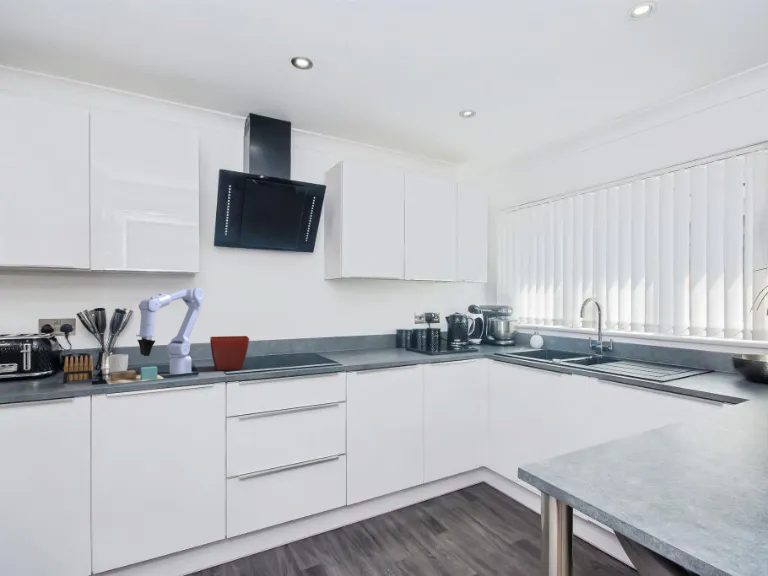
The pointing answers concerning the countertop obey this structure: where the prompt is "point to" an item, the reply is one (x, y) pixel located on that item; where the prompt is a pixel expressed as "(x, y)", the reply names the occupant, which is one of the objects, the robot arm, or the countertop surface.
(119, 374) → the walnut base block
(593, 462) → the countertop surface
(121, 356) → the white cup
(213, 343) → the plant pot
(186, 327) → the robot arm
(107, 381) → the birch board
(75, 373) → the ammunition clip
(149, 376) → the teal brick
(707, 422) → the countertop surface
